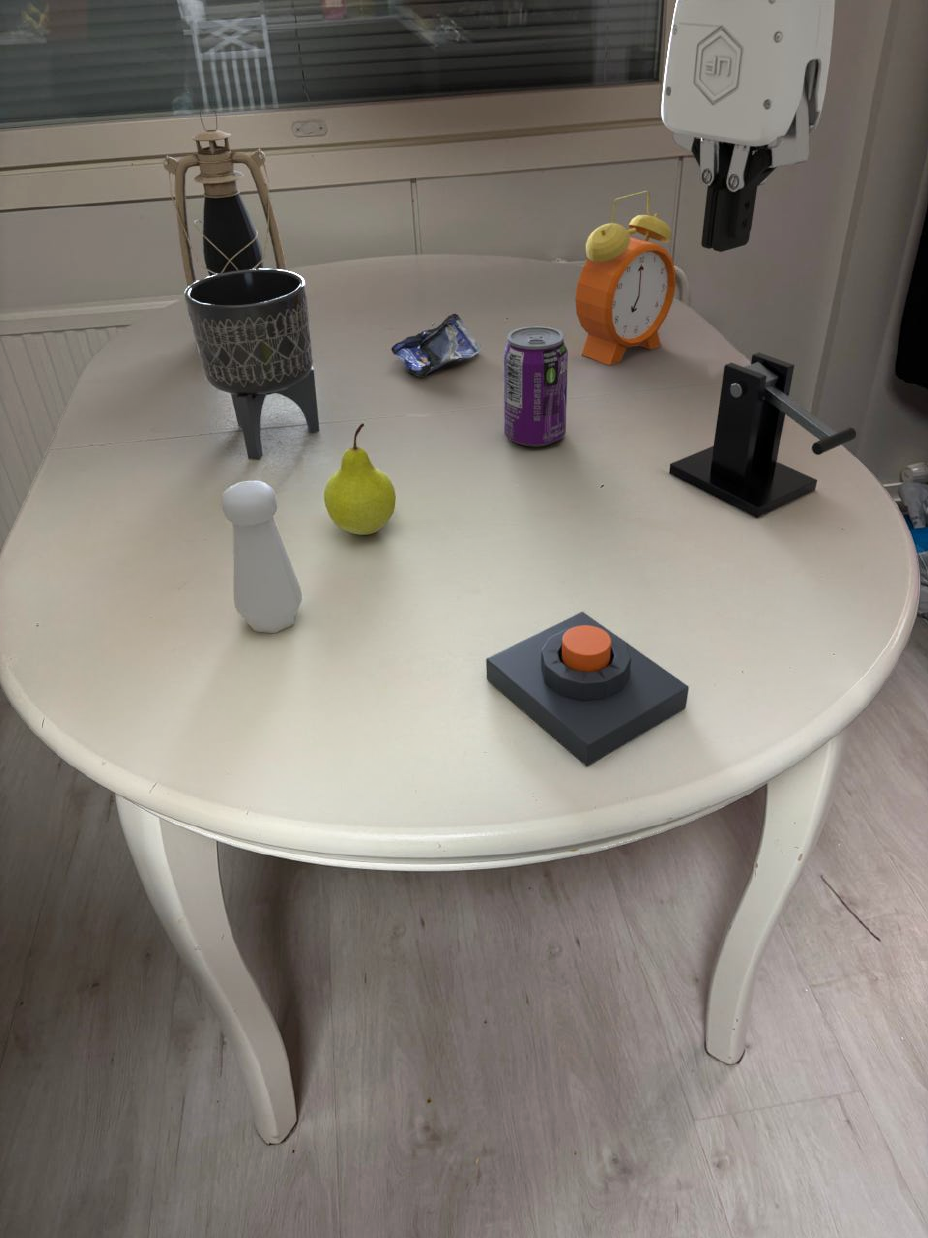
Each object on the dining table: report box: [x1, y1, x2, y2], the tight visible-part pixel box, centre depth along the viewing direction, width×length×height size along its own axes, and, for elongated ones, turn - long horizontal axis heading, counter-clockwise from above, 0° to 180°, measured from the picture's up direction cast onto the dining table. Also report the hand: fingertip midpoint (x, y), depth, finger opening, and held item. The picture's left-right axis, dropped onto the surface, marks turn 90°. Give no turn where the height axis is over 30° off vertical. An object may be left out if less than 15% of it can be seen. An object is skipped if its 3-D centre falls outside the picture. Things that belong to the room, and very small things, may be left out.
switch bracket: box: [668, 352, 818, 519], centre depth 93 cm, size 12×9×13 cm
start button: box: [562, 625, 611, 673], centre depth 69 cm, size 4×4×2 cm
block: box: [485, 611, 690, 767], centre depth 71 cm, size 12×10×4 cm
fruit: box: [323, 422, 397, 536], centre depth 89 cm, size 7×7×12 cm
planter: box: [183, 268, 320, 461], centre depth 105 cm, size 13×13×18 cm
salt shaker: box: [221, 480, 303, 634], centre depth 77 cm, size 6×6×13 cm
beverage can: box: [502, 325, 569, 448], centre depth 104 cm, size 7×7×12 cm
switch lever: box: [744, 362, 857, 456], centre depth 88 cm, size 12×5×2 cm, turn 35°
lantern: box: [162, 106, 288, 288], centre depth 130 cm, size 14×12×30 cm
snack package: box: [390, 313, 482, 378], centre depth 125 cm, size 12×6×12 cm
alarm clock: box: [574, 190, 677, 366], centre depth 122 cm, size 13×6×20 cm, turn 129°
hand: (724, 245), depth 66 cm, fingers closed
